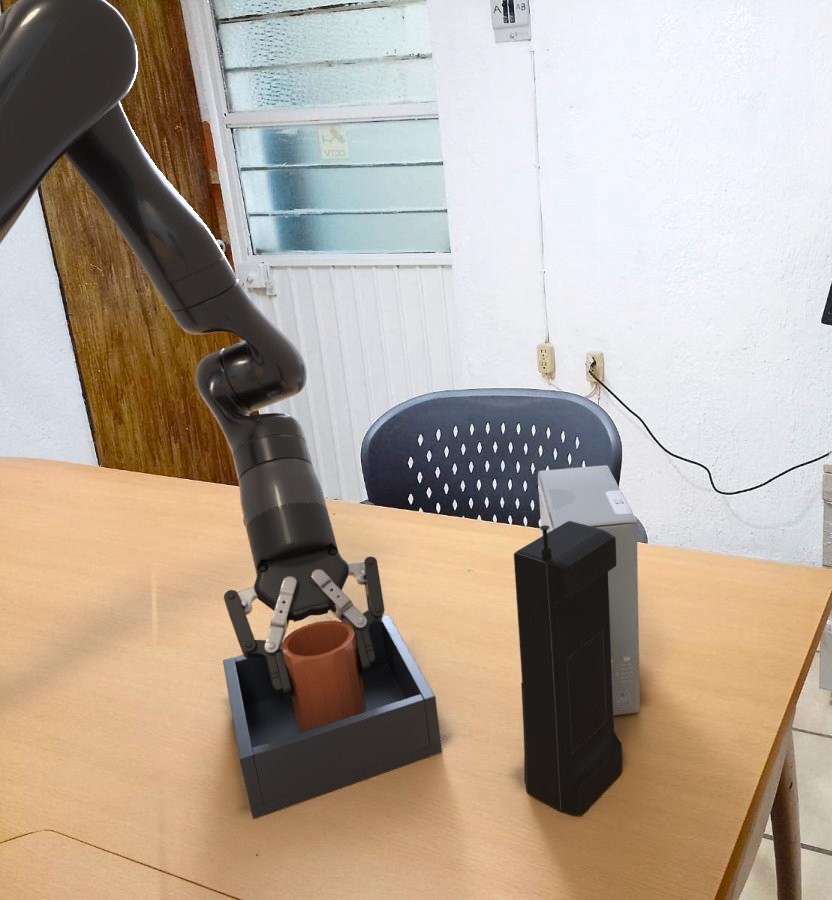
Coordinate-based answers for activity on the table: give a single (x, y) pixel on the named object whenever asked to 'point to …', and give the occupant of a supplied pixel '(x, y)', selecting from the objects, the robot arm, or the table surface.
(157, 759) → the table surface
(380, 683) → the open box
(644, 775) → the table surface
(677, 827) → the table surface
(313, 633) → the pot
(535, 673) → the portable radio
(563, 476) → the hard drive box
